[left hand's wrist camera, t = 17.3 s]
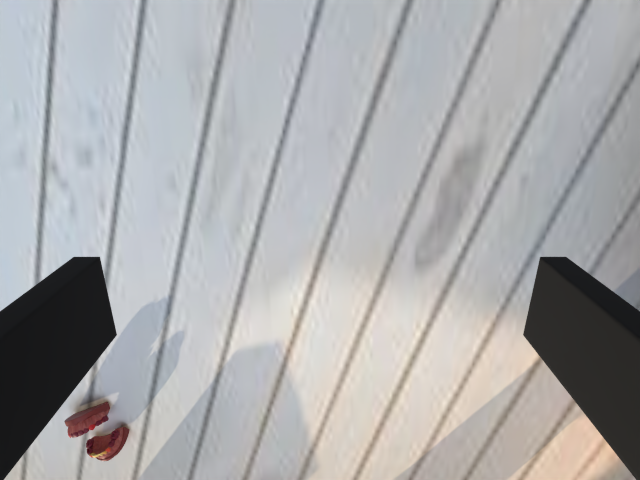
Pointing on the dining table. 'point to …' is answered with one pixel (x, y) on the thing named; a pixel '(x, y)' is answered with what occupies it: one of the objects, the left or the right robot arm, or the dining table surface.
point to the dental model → (97, 445)
